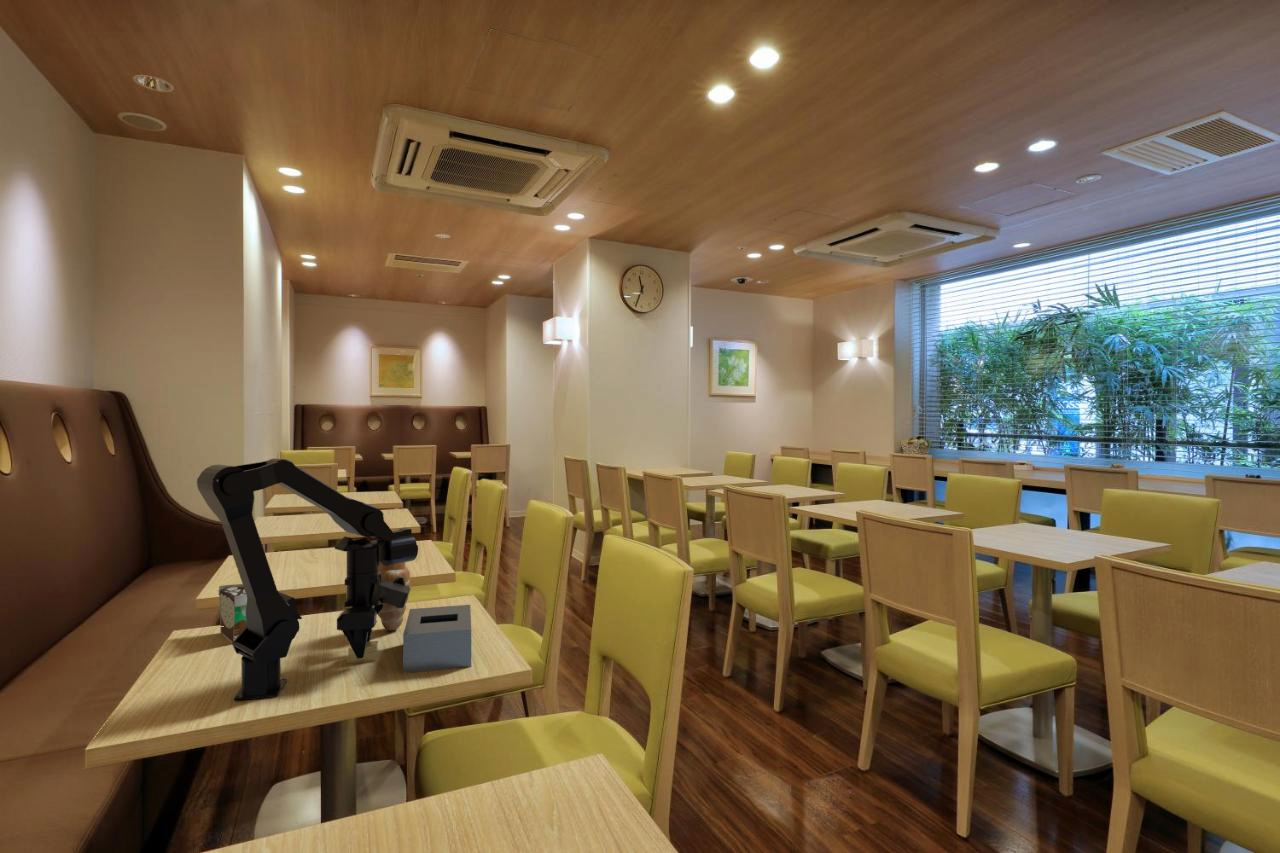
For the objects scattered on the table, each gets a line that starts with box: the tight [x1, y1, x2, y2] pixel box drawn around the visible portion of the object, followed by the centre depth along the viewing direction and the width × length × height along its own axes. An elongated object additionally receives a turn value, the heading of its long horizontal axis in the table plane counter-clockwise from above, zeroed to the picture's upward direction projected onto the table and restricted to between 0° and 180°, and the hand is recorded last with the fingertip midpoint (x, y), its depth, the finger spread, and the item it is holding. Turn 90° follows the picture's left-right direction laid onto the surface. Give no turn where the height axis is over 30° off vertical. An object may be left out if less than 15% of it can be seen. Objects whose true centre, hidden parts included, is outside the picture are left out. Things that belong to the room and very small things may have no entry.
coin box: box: [402, 604, 472, 674], centre depth 126 cm, size 16×12×7 cm
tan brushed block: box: [347, 640, 379, 665], centre depth 123 cm, size 3×5×3 cm, turn 108°
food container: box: [218, 583, 247, 643], centre depth 136 cm, size 12×6×10 cm, turn 47°
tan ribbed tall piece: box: [377, 562, 411, 632], centre depth 139 cm, size 9×8×18 cm
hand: (363, 651), depth 123 cm, fingers open, 7 cm apart
